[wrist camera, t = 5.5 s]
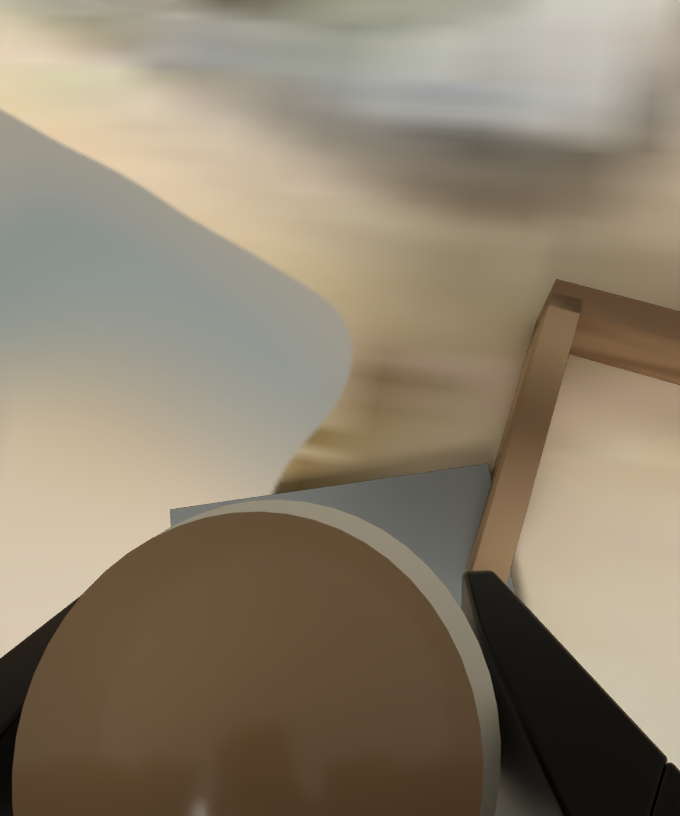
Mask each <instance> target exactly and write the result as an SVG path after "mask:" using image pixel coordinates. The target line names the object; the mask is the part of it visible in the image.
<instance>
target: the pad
mask: <svg viewBox="0 0 680 816" xmlns="http://www.w3.org/2000/svg"><path fill="white" fill-rule="evenodd" d="M490 485H491V477H490V472H489V467H488V464H481V465H474V466H467V467H460V468H453V469H446V470H439V471H433V472H426V473H419V474H412V475H405V476H398V477H391V478H384V479H377V480H370V481H363V482H356V483H350V484H343V485H336V486H329V487H322V488H315V489H308V490H301V491H294V492H287V493H280V494H273V495H266V496H260V497H253V498H246V499H239V500H232V501H225V502H218V503H211V504H205V505H198V506H191V507H184V508H176V509H170V518H171V527H172V526H174V525H176V524H178V523H180V522H182V521H185V520H187V519H189V518H191V517H193V516H195V515H198V514H200V513H203V512H207V511H210V510H213V509H216V508H219V507H222V506H226V505H232V504H237V503H243V502H248V501H260V500H289V501H301V502H308V503H313V504H318V505H322V506H327V507H331V508H334V509H337V510H340V511H343V512H345V513H348V514H351V515H354V516H357V517H359V518H361V519H363V520H365V521H367V522H369V523H370V524H372V525H374V526H376V527H378V528H380V529H382V530H384V531H385V532H387V533H388V534H389V535H391V536H392V537H394V538H395V539H397V540H398V541H399V542H401V543H402V544H404V545H405V546H407V547H408V548H409V549H410V550H411V551H412V552H413V553H414V554H415V555H417V556H418V557H419V558H420V559H421V560H422V561H423V562H424V563H425V564H426V565H428V566H429V568H430V569H431V570H432V571H433V572H434V573H435V575H436V576H437V577H438V578H439V579H440V580H441V582H442V583H443V584H444V585H445V586H446V587H447V589H448V590H449V592H450V593H451V595H452V596H453V598H454V599H455V601H456V602H457V604H458V605H459V607H460V608H461V595H462V575H463V574H464V572H466V568H467V565H468V561H469V558H470V554H471V551H472V547H473V544H474V541H475V537H476V534H477V530H478V527H479V523H480V520H481V516H482V513H483V510H484V506H485V503H486V499H487V496H488V492H489V489H490ZM506 585H507V586H508V587H509V588H510V589H511V591H512V592H513V593H514V594H515V592H514V587H513V582H512V577H511V573H509V577H508V580H507V584H506Z"/></svg>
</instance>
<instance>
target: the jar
mask: <svg viewBox="0 0 680 816" xmlns="http://www.w3.org/2000/svg"><path fill="white" fill-rule="evenodd" d="M500 757H501V738H500V729H499V719H498V709H497V703H496V699H495V695H494V690H493V686H492V681H491V677H490V673H489V670H488V667H487V665H486V662H485V659H484V656H483V653H482V650H481V648H480V645H479V642H478V640H477V638H476V636H475V634H474V632H473V630H472V628H471V626H470V624H469V622H468V620H467V618H466V616H465V614H464V613H463V611H462V610H461V608H460V607H459V605H458V604H457V602H456V601H455V599H454V598H453V596H452V595H451V593H450V592H449V590H448V589H447V587H446V586H445V585H444V584H443V583H442V582H441V580H440V579H439V578H438V577H437V576H436V575H435V573H434V572H433V571H432V570H431V569H430V568H429V566H428V565H426V564H425V563H424V562H423V561H422V560H421V559H420V558H419V557H418V556H417V555H415V554H414V553H413V552H412V551H411V550H410V549H409V548H408V547H407V546H405V545H404V544H402V543H401V542H399V541H398V540H397V539H395V538H394V537H392V536H391V535H389V534H388V533H387V532H385V531H384V530H382V529H380V528H378V527H376V526H374V525H372V524H370V523H369V522H367V521H365V520H363V519H361V518H359V517H357V516H354V515H351V514H348V513H345V512H343V511H340V510H337V509H334V508H331V507H327V506H322V505H318V504H313V503H308V502H301V501H289V500H260V501H248V502H243V503H237V504H232V505H226V506H222V507H219V508H216V509H213V510H210V511H207V512H203V513H200V514H198V515H195V516H193V517H191V518H189V519H187V520H185V521H182V522H180V523H178V524H176V525H174V526H172V527H170V528H169V529H167V530H166V531H164V532H162V533H161V534H159V535H157V536H156V537H154V538H152V539H150V540H149V541H147V542H146V543H144V544H142V545H140V546H139V547H137V548H136V549H134V550H132V551H131V552H129V553H128V554H126V555H125V556H124V557H123V558H121V559H120V560H119V561H118V562H116V563H115V564H114V565H113V566H111V567H110V568H109V569H108V570H106V571H105V572H104V573H103V574H102V575H101V576H100V577H99V578H98V579H97V580H96V581H95V582H94V583H93V584H92V585H91V586H90V587H89V588H88V589H87V590H86V591H85V592H84V593H83V595H82V596H81V597H80V598H79V600H78V601H77V602H76V603H75V605H74V606H73V607H72V609H71V610H70V611H69V612H68V614H67V615H66V616H65V618H64V619H63V621H62V622H61V624H60V626H59V627H58V629H57V630H56V632H55V634H54V635H53V637H52V639H51V640H50V642H49V643H48V645H47V647H46V650H45V652H44V654H43V656H42V658H41V660H40V662H39V664H38V666H37V668H36V671H35V673H34V675H33V678H32V681H31V684H30V687H29V690H28V693H27V696H26V699H25V701H24V704H23V709H22V713H21V717H20V722H19V726H18V731H17V735H16V742H15V751H14V760H13V768H12V808H13V816H494V814H495V810H496V803H497V795H498V788H499V781H500Z"/></svg>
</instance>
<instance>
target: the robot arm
mask: <svg viewBox="0 0 680 816" xmlns="http://www.w3.org/2000/svg"><path fill="white" fill-rule="evenodd" d="M82 595H83V594H82ZM82 595H81V596H82ZM81 596H80V597H81ZM80 597H79V598H80ZM79 598H77V599H76V600H75V601H73V602H72V603H71V604H70V605H68V606H67V607H66V608H64V609H63V610H62V611H61V612H59V613H58V614H57V615H56V616H54V617H53V618H52V619H50V620H49V621H48V622H47V623H45V624H44V625H43V626H42V627H40V628H39V629H38V630H36V631H35V632H34V633H32V634H31V635H30V636H29V637H27V638H26V639H25V640H24V641H22V642H21V643H20V644H19V645H17V646H16V647H15V648H13V649H12V650H11V651H9V652H8V653H7V654H5V655H4V656H3V657H2V658H0V816H13V808H12V768H13V760H14V751H15V742H16V735H17V731H18V726H19V722H20V717H21V713H22V709H23V704H24V701H25V699H26V696H27V693H28V690H29V687H30V684H31V681H32V678H33V675H34V673H35V671H36V668H37V666H38V664H39V662H40V660H41V658H42V656H43V654H44V652H45V650H46V647H47V645H48V643H49V642H50V640H51V639H52V637H53V635H54V634H55V632H56V630H57V629H58V627H59V626H60V624H61V622H62V621H63V619H64V618H65V616H66V615H67V614H68V612H69V611H70V610H71V609H72V607H73V606H74V605H75V603H76V602H77V601H78V600H79ZM461 610H462V611H463V613H464V614H465V616H466V618H467V620H468V622H469V624H470V626H471V628H472V630H473V632H474V634H475V636H476V638H477V640H478V642H479V645H480V648H481V650H482V653H483V656H484V659H485V662H486V665H487V667H488V670H489V673H490V677H491V681H492V686H493V690H494V695H495V699H496V703H497V709H498V719H499V729H500V738H501V757H500V781H499V788H498V795H497V803H496V810H495V814H494V816H680V771H679V769H678V768H677V767H676V766H675V765H674V764H673V763H667V757H666V756H665V755H664V754H663V753H662V751H661V750H660V749H659V748H658V747H657V746H656V745H655V744H654V743H653V742H652V741H651V740H650V739H649V738H648V736H647V735H646V734H645V733H644V732H643V731H642V730H641V729H640V728H639V727H638V726H637V725H636V724H635V723H634V721H633V720H632V719H631V718H630V717H629V716H628V715H627V714H626V713H625V712H624V711H623V710H622V709H621V707H620V706H619V705H618V704H617V703H616V702H615V701H614V700H613V699H612V698H611V697H610V696H609V695H608V694H607V692H606V691H605V690H604V689H603V688H602V687H601V686H600V685H599V684H598V683H597V682H596V681H595V680H594V679H593V677H592V676H591V675H590V674H589V673H588V672H587V671H586V670H585V669H584V668H583V667H582V666H581V665H580V663H579V662H578V661H577V660H576V659H575V658H574V657H573V656H572V655H571V654H570V653H569V652H568V651H567V650H566V648H565V647H564V646H563V645H562V644H561V643H560V642H559V641H558V640H557V639H556V638H555V637H554V636H553V635H552V633H551V632H550V631H549V630H548V629H547V628H546V627H545V626H544V625H543V624H542V623H541V622H540V621H539V619H538V618H537V617H536V616H535V615H534V614H533V613H532V612H531V611H530V610H529V609H528V608H527V607H526V606H525V604H524V603H523V602H522V601H521V600H520V599H519V598H518V597H517V596H516V595H515V594H514V593H513V592H512V591H511V589H510V588H509V587H508V586H507V585H506V584H505V583H504V582H503V581H502V580H501V579H500V578H499V577H498V575H497V574H496V573H494V572H493V571H490V570H481V571H466V572H464V574H463V575H462V595H461Z"/></svg>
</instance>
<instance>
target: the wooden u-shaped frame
mask: <svg viewBox="0 0 680 816" xmlns="http://www.w3.org/2000/svg"><path fill="white" fill-rule="evenodd" d="M569 354H572V355H576V356H579V357H583V358H586V359H590V360H593V361H597V362H600V363H604V364H608V365H611V366H615V367H618V368H622V369H625V370H629V371H632V372H636V373H640V374H643V375H647V376H650V377H654V378H657V379H661V380H664V381H668V382H672V383H675V384H679V385H680V311H676V310H672V309H668V308H665V307H661V306H657V305H653V304H649V303H646V302H642V301H638V300H634V299H630V298H627V297H623V296H619V295H615V294H611V293H607V292H604V291H600V290H596V289H592V288H588V287H585V286H581V285H577V284H573V283H569V282H566V281H562V280H558V279H556V281H555V283H554V285H553V288H552V290H551V292H550V294H549V296H548V298H547V300H546V302H545V304H544V306H543V309H542V311H541V313H540V315H539V317H538V319H537V322H536V326H535V329H534V333H533V336H532V339H531V343H530V346H529V350H528V353H527V357H526V360H525V363H524V367H523V370H522V374H521V377H520V381H519V384H518V388H517V391H516V394H515V398H514V401H513V405H512V408H511V412H510V415H509V418H508V422H507V425H506V429H505V432H504V436H503V439H502V443H501V446H500V449H499V453H498V456H497V460H496V463H495V467H494V470H493V473H492V477H491V485H490V489H489V492H488V496H487V499H486V503H485V506H484V510H483V513H482V516H481V520H480V523H479V527H478V530H477V534H476V537H475V541H474V544H473V547H472V551H471V554H470V558H469V561H468V565H467V568H466V571H481V570H490V571H493V572H494V573H496V574H497V575H498V577H499V578H500V579H501V580H502V581H503V582H504V583H505V584H507V580H508V577H509V573H510V569H511V566H512V562H513V558H514V555H515V551H516V547H517V543H518V540H519V536H520V532H521V529H522V525H523V521H524V518H525V514H526V510H527V507H528V503H529V499H530V496H531V492H532V488H533V485H534V481H535V477H536V473H537V470H538V466H539V462H540V459H541V455H542V451H543V448H544V444H545V440H546V437H547V433H548V429H549V426H550V422H551V418H552V414H553V411H554V407H555V403H556V400H557V396H558V392H559V389H560V385H561V381H562V378H563V374H564V370H565V367H566V363H567V359H568V355H569Z"/></svg>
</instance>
